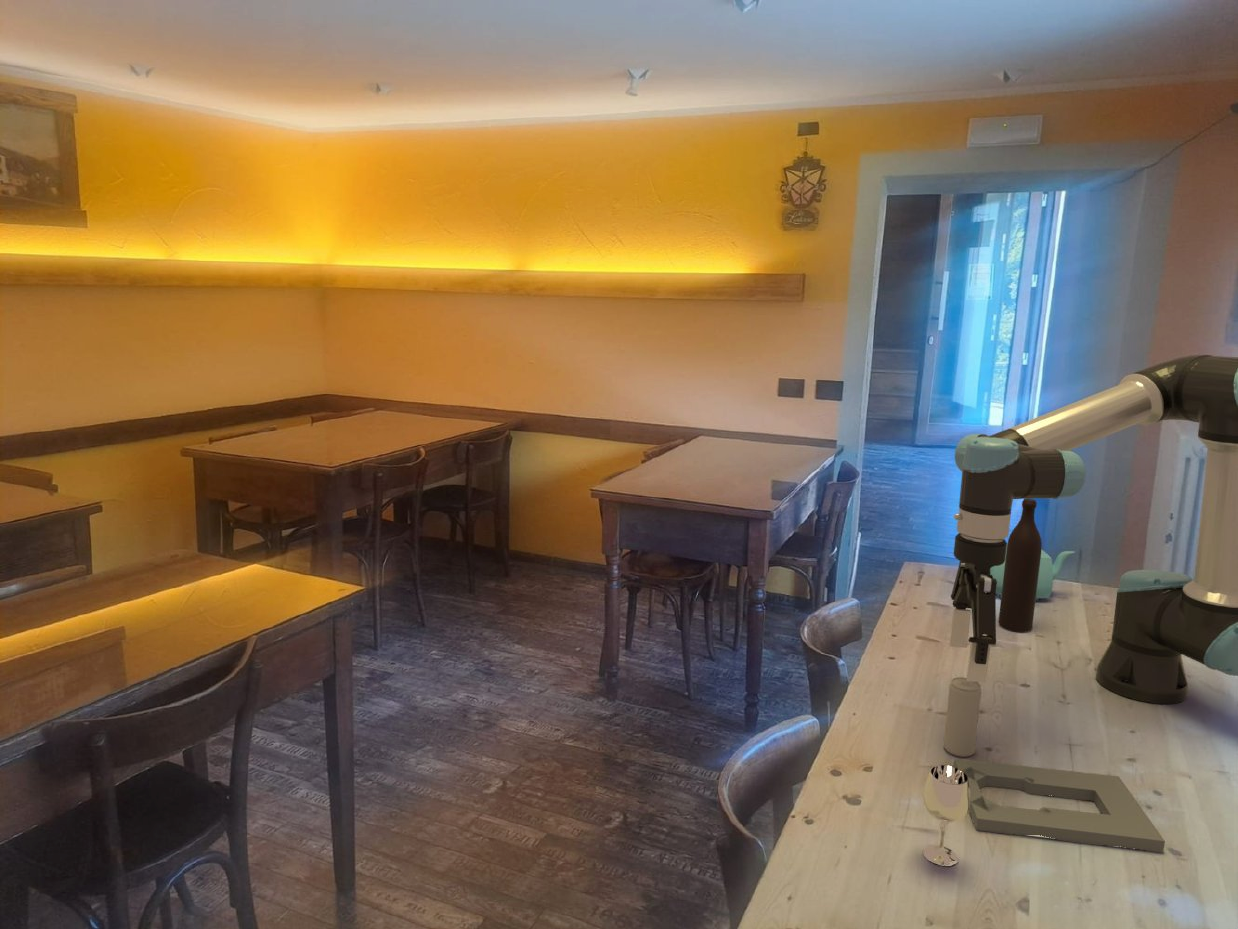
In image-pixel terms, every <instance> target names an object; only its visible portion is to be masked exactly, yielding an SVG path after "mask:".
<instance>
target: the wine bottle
mask: <svg viewBox="0 0 1238 929" xmlns="http://www.w3.org/2000/svg"><path fill="white" fill-rule="evenodd" d="M1037 504H1038V503H1037V500H1035V499H1023V500H1022V502H1021V507H1022V510H1021V516H1020V518H1019V519H1020V520H1019V521H1018V523H1017V524H1016V526H1014V528H1013V529H1012V531H1011V533H1010V534H1009V535H1008V540H1007V551H1006V559H1005V568H1004V577H1003V586H1002V595H1000V607H999V612H998V613H999V616H998V625H999V626H1000V628H1002V629H1005V630H1006V631H1010V632H1016V633H1027V632H1030V631H1032V630H1033V624H1034V617H1035V615H1034V614H1035V607H1036V601H1035V600H1036V592H1037V584H1038V576H1039V567H1040V559H1041V549H1042V550H1043V548H1042V547H1043V546H1042V544H1043V543H1042V538H1041V534H1040V532H1039V529H1038V527H1037V525H1036V521H1035V512H1036V508H1037Z"/></svg>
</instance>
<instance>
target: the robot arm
mask: <svg viewBox="0 0 1238 929" xmlns="http://www.w3.org/2000/svg"><path fill="white" fill-rule="evenodd" d="M1170 420H1172V421H1173V420H1174V421H1175V420H1176V421H1177V420H1180V421H1189V422H1192V423H1193V422H1194V423H1199V424H1198V431H1197V432H1198V433H1197V439H1199V441H1200V442H1201V443H1203V445H1205V447H1206V448H1207V450H1206V459H1205V468H1204V480H1203V489H1202V498H1201V500H1202V501H1201V508H1200V509H1201V510H1200V518H1199V527H1198V539H1197V546H1196V556H1195V566H1194V575H1193V576H1194V578H1192V577H1191V576H1189V575H1187V574H1183V573H1180V572H1175V571H1167V570H1157V569H1156V570H1155V569H1136V570H1129V571H1126V572H1125V573H1123V574H1122V575H1121V576H1120V580H1119V584H1118V589H1117V590H1116V598H1115V599H1116V601H1115V608H1114V618H1113V623H1112V624H1113V626H1112V632H1111V640H1110V642H1109V644H1108V646H1107V647H1106V650H1105V651H1104V653H1103V655H1102V657H1101V659H1100V660H1099V662H1098V663H1097V665H1096V666H1097V667H1096V673H1095V679H1096V681H1097V682H1098V683H1099V684H1100V685H1101V686H1103V687H1104V688H1106V689H1107V690H1109V691H1110V692H1113V693H1115V694H1118V695H1120V696H1123V697H1126V698H1130V699H1132V700H1137V701H1140V702H1146V703H1152V704H1162V705H1165V704H1169V705H1170V704H1177V703H1181V702H1183V701H1184V700H1186V698H1187V695H1188V688H1189V685H1188V680H1187V676H1186V671H1185V667H1184V663H1183V657H1182V656H1184V657H1187V658H1189V659H1192V660H1193V661H1195V662H1198V663H1200V664H1202V665H1204V666H1205V667H1206V668H1208V669H1211V670H1213V671H1215V670H1216V671H1219V672H1220V673H1223V674H1225V675H1228V676H1232V677H1234V676H1235V677H1237V676H1238V357H1237V356H1221V355H1210V354H1209V355H1208V354H1194V355H1192V354H1191V355H1187V356H1182V357H1177V358H1174V359H1170V360H1167V361H1162V362H1160V363H1157V364H1155V365H1151V366H1148V367H1146V368H1143V369H1140V370H1138V371H1136V372H1132V373H1130V374H1128V375H1125V376H1124V377H1123V378H1122V379H1121V380H1120V381H1119V383H1118V385H1116V386H1113V387H1110V388H1108V389H1106V390H1103V391H1100V392H1098V393H1095V394H1092V395H1089V396H1088V397H1085V398H1083V399H1080V400H1078V401H1075V402H1072V403H1070V404H1068V405H1065V406H1062V407H1059V408H1057V409H1054V410H1052V411H1050V412H1048V413H1045V414H1041V415H1038V416H1037V417H1034V418H1032V419H1029V420H1027V421H1024V422H1022V423H1020V424H1016V425H1014V426H1013V427H1009V428H1007V429H1004V430H1001V431H999V432H997V433H993V434H991V435H990V434H989V435H987V434H986V433H972V434H968V435H966V436H964V437H962V439H960V441H959V442H958V444H957V446H956V447H955V451H954V462H955V465H956V467H957V468H958V470H959V471H961V479H960V481H961V482H960V490H959V503H958V513H954V514H953V516H954V517H953V518H954V520H957V522H956V531H957V532H958V533H957V534H956V535H955V537H954V545H953V557H954V558H955V559H956V560H958V561H959V563H958V568H957V572H956V575H955V580H954V583H953V587H952V591H951V594H950V598H951V600H952V606H953V607H954V608H952V615H951V624H950V625H951V626H950V634H949V642H948V644H949V647H954V648H966V649H967V648H968V643H970V646H969V655H968V661H967V663H968V664H967V671H966V677H965V678H966V679H967V681H973V682H978V683H981V684H982V683H984V684H986V683H987V677H988V670H989V664H990V663H989V661H990V654H991V646H995V645H996V644H997V621H996V620H997V619H996V618H997V617H996V616H997V613H996V612H997V608H996V606H997V605H996V601H997V600H996V596H997V594H996V584H997V581H996V579H995V578H993V576H992V575H990V568H991V567H993V566H999V565H1002V564H1003V563H1004V562H1005V556H1006V548H1007V544H1008V541H1006V539H1007V538H1009V536H1010V534H1009V533H1010V525H1011V517H1012V516H1011V515H1012V505H1013V502H1014V500H1021V499H1023V500H1024V499H1033V500H1035V499H1053V500H1057V499H1061V498H1069V497H1073V496H1075V495H1077V494H1078V493H1080V491H1081V490H1082V489H1083V487H1084V486H1085V483H1086V475H1087V468H1086V465H1085V463H1084V461H1083V460H1082V458H1081V456H1080V455H1078V454H1077V453H1075V452H1073V450H1075V449H1077V448H1080V447H1083V446H1085V445H1088V444H1091V443H1092V442H1095V441H1097V440H1101V439H1103V438H1106V437H1108V436H1110V435H1113V434H1114V433H1115V434H1116V433H1117V432H1120V431H1122V430H1125V429H1128V428H1131V427H1133V426H1134V425H1135V426H1136V425H1142V426H1150V425H1153V424H1156V423H1158V422H1162V421H1170ZM971 620H972V621H971ZM971 622H972V634H973V635H972V636H970V637H969V633H970V623H971Z"/></svg>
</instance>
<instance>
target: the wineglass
mask: <svg viewBox="0 0 1238 929" xmlns="http://www.w3.org/2000/svg"><path fill="white" fill-rule="evenodd" d="M922 798H923V805H924V807H925V809H926V811H927V812H928V814H929V815H930V816H932V817H933V818H935V819H936V820H938V821H940V822H939V829H940V838H939V839H940V840H939V844H930V845H927V846H925V847H924V848H923V850H922V853H923V854H922V855H923V856H924V858H925V857H926V858H925V860H927V861H928V862H930V861H932V862H934V863H936V864H938V863H939V864H940V865H944V864H945V865H949V864H950V862H952V861H958V862H959V857H957V856H958V854H956V852H955V851H954V850H952V849H950V848H949V847H947V846H944V843H945V836H946V833H947V831H948V826H949V824H948V823H951V824H952V823H957V822H960V821H962V820H963V819H964V818H966V817H967V815H968V813H969V807H970V788H969V781H968V777H967V775H966V774H965V773H964V772H963V771H961V770H960V769H957V768H955V767H954V766H951V765H946V764H945V765H944V764H938V765H933V766H932V767H931V768H930V771H929V773H928V774H927V778H926V780H925V783H924V787H923V794H922ZM952 863H953V862H952ZM945 865H944V866H945Z"/></svg>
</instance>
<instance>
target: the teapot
mask: <svg viewBox="0 0 1238 929" xmlns="http://www.w3.org/2000/svg"><path fill="white" fill-rule="evenodd" d="M1006 551H1007V548H1006ZM1074 553H1076V551H1073V550H1065V551H1061V552H1060V553H1059V554H1058V555H1057V557H1056V559H1055V560H1054V563H1053V559H1052V557H1051V556H1050V555H1049V554H1048V553H1046V552H1045V550H1043V548H1042V549H1041V559H1040V567H1039V576H1038V584H1037V592H1036V600H1035V602H1039V601H1040V600H1039V599H1049V598H1050V597H1051V594H1052V592H1053V587H1054V586H1053V584H1054V583H1053V582H1054V580H1056V579H1057V577H1059V575H1060V574H1061V573H1060V572H1061V571H1062V567H1063V564H1064V563H1065V560H1066V559H1067V558H1068V557H1069V556H1070V555H1073V554H1074ZM1005 559H1006V556H1005ZM1004 568H1005V562H1004V563H1003V564H1002V565H999V566H993V567H991V568H990V575H992V576H993V578H995V579H996V581H997V584H996V596H997V595H999V596H1001V595H1002V586H1003V577H1004Z"/></svg>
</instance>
